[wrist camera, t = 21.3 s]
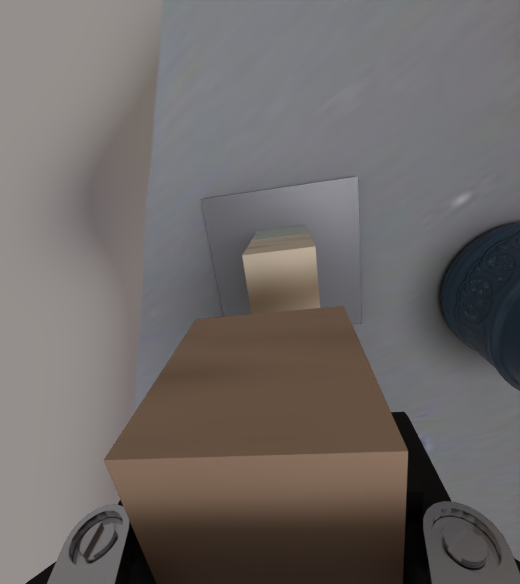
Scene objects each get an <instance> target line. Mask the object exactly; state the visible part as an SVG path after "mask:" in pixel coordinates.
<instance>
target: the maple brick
mask: <svg viewBox="0 0 520 584" xmlns="http://www.w3.org/2000/svg"><path fill="white" fill-rule="evenodd" d="M242 258H243V264H244V270H245V277H246V283H247V289H248V295H249V301H250V307H251V313H252V314H260V313H270V312H281V311H292V310H303V309H314V308H320V298H319V286H318V273H317V261H316V248H315V245H314V242H313V240H312V238H311V235H310V234H302V235H294V236H286V237H278V238H270V239H262V240H254V241H251V242H250V244H249V245H248V247H247V248H246V250H245V252H244V253H243V255H242Z"/></svg>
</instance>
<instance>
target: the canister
mask: <svg viewBox="0 0 520 584" xmlns="http://www.w3.org/2000/svg"><path fill="white" fill-rule="evenodd" d="M441 307H442V311H443V314H444V316H445V318H446V320H447V322H448V324H449V326H450V328H451V329H452V331H453V332H454V333H455V334H456V336H457V337H458V338H459V339H461V340H462V341H463V342H464V343H465V344H466V345H467V346H469V347H470V348H472V349H473V350H475V351H477V352H478V353H479V354H480V355H482V356H483V357H484V358H485V359H486V360H487V361H488V362H489V363H491V364H492V365H493V366H494V367H495V368H496V369H497V371H498V372H499V373H500V375H501V376H502V377H503V378H504V379H505V380H506V381H507V382H508V383H509V384H510V385H512V386H513V387H515V388H516V389H518V390H519V391H520V222H518V223H512V224H508V225H504V226H501V227H498V228H495V229H493V230H491V231H489V232H487V233H485V234H483V235H481V236H480V237H478V238H476V239H475V240H474V241H472V242H471V243H470V244H469V245H467V246H466V247H465V248H464V249H463V250H462V251H461V252H460V253H459V254H458V256H457V257H456V258H455V259H454V261H453V262H452V264H451V265H450V267H449V269H448V270H447V272H446V275H445V277H444V280H443V283H442V288H441Z"/></svg>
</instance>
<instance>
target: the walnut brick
mask: <svg viewBox="0 0 520 584" xmlns="http://www.w3.org/2000/svg"><path fill="white" fill-rule="evenodd" d="M104 462H105V465H106V467H107V469H108V472H109V474H110V476H111V478H112V481H113V483H114V486H115V488H116V490H117V493H118V495H119V497H120V500H121V502H122V504H123V507H124V509H125V511H126V514H127V516H128V518H129V521H130V523H131V525H132V528H133V530H134V532H135V535H136V537H137V539H138V542H139V544H140V546H141V549H142V551H143V553H144V556H145V558H146V560H147V563H148V565H149V567H150V570H151V572H152V574H153V577H154V579H155V582H156V584H403V567H404V543H405V518H406V493H407V468H408V450H407V447H406V445H405V443H404V441H403V438H402V436H401V434H400V432H399V429H398V427H397V425H396V423H395V420H394V418H393V416H392V414H391V411H390V409H389V407H388V405H387V402H386V400H385V398H384V396H383V393H382V391H381V389H380V387H379V384H378V382H377V380H376V378H375V375H374V373H373V371H372V369H371V366H370V364H369V362H368V360H367V357H366V355H365V353H364V351H363V348H362V346H361V344H360V342H359V339H358V337H357V335H356V333H355V330H354V328H353V326H352V324H351V321H350V319H349V317H348V315H347V312H346V310H345V308H344V306H336V307H325V308H314V309H303V310H292V311H281V312H270V313H260V314H249V315H238V316H227V317H216V318H205V319H196V320H195V321H194V323H193V325H192V326H191V328H190V329H189V331H188V332H187V334H186V335H185V337H184V338H183V340H182V341H181V343H180V344H179V346H178V347H177V349H176V350H175V352H174V354H173V355H172V357H171V358H170V360H169V361H168V363H167V364H166V366H165V367H164V369H163V370H162V372H161V373H160V375H159V376H158V378H157V380H156V381H155V383H154V384H153V386H152V387H151V389H150V390H149V392H148V393H147V395H146V396H145V398H144V399H143V401H142V402H141V404H140V406H139V407H138V409H137V410H136V412H135V413H134V415H133V416H132V418H131V419H130V421H129V422H128V424H127V426H126V427H125V429H124V430H123V431H122V433H121V435H120V436H119V438H118V439H117V441H116V442H115V444H114V445H113V447H112V448H111V450H110V451H109V453H108V454H107V456H106V458H105V459H104Z"/></svg>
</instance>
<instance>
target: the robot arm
mask: <svg viewBox="0 0 520 584" xmlns="http://www.w3.org/2000/svg"><path fill="white" fill-rule="evenodd" d="M391 414H392V416H393V418H394V420H395V423H396V425H397V427H398V429H399V432H400V434H401V436H402V438H403V441H404V443H405V445H406V447H407V450H408V468H407V493H406V518H405V543H404V567H403V584H520V562H519V561H518V560H516V559H515V558H514V557H513V554H512V552H511V549H510V547H509V545H508V543H507V541H506V540H505V538H504V536H503V534H502V533H501V532H500V531H499V530H498V528H497V527H496V526H495V525H494V524H493V523H492V522H491V521H490V520H489V519H487V518H486V517H485V516H484V515H483V514H481V513H480V512H478V511H476V510H474V509H473V508H471V507H469V506H467V505H464V504H460V503H457V502H452V501H451V499H450V498H449V496H448V494H447V492H446V490H445V488H444V486H443V484H442V482H441V480H440V478H439V476H438V474H437V472H436V470H435V468H434V466H433V464H432V462H431V460H430V458H429V456H428V455H427V453H426V451H425V449H424V447H423V445H422V443H421V441H420V439H419V437H418V435H417V433H416V431H415V429H414V427H413V425H412V423H411V421H410V419H409V418H408V416H407V414H406V413H405V412H391ZM26 584H156V582H155V579H154V577H153V574H152V572H151V570H150V567H149V565H148V563H147V560H146V558H145V556H144V553H143V551H142V549H141V546H140V544H139V542H138V539H137V537H136V535H135V532H134V530H133V528H132V525H131V523H130V521H129V518H128V516H127V514H126V511H125V509H124V507H123V504H122V502H121V500H120V501H119V503H118V505H117V504H113V505H106V506H103V507H100V508H98V509H96V510H94V511H93V512H91V513H90V514H88V515H87V516H86V517H84V518H83V519H82V520H81V521H80V522H79V523H78V524H77V525H76V526H75V528H74V529H73V530H72V531H71V533H70V534H69V536H68V537H67V540H66V541H65V543H64V545H63V547H62V550H61V552H60V554H59V557H58V559H57V561H56V562H55V563H53V564H52V565H51V566H49V567H48V568H46V569H45V570H44V571H42V572H41V573H39V574H38V575H37V576H35V577H34V578H33V579H31V580H30V581H28V582H27V583H26Z"/></svg>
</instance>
